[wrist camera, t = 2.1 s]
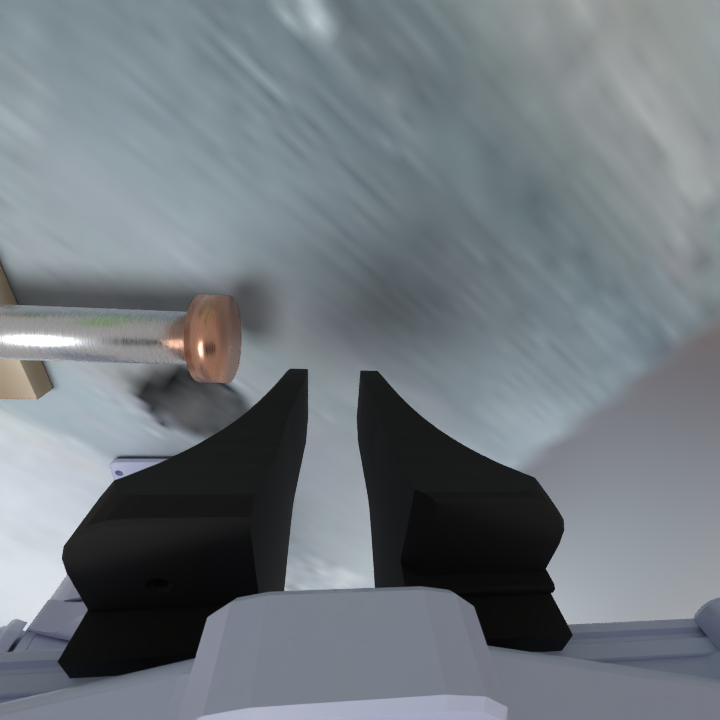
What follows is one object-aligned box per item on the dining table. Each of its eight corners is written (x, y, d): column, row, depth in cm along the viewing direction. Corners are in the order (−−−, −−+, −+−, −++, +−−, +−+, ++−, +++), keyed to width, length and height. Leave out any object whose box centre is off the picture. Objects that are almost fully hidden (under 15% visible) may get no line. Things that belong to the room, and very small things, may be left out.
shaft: (236, 285, 16) (209, 312, 12) (244, 358, 18) (222, 400, 14) (-192, 265, 14) (-364, 289, 11) (-135, 347, 16) (-266, 391, 13)
